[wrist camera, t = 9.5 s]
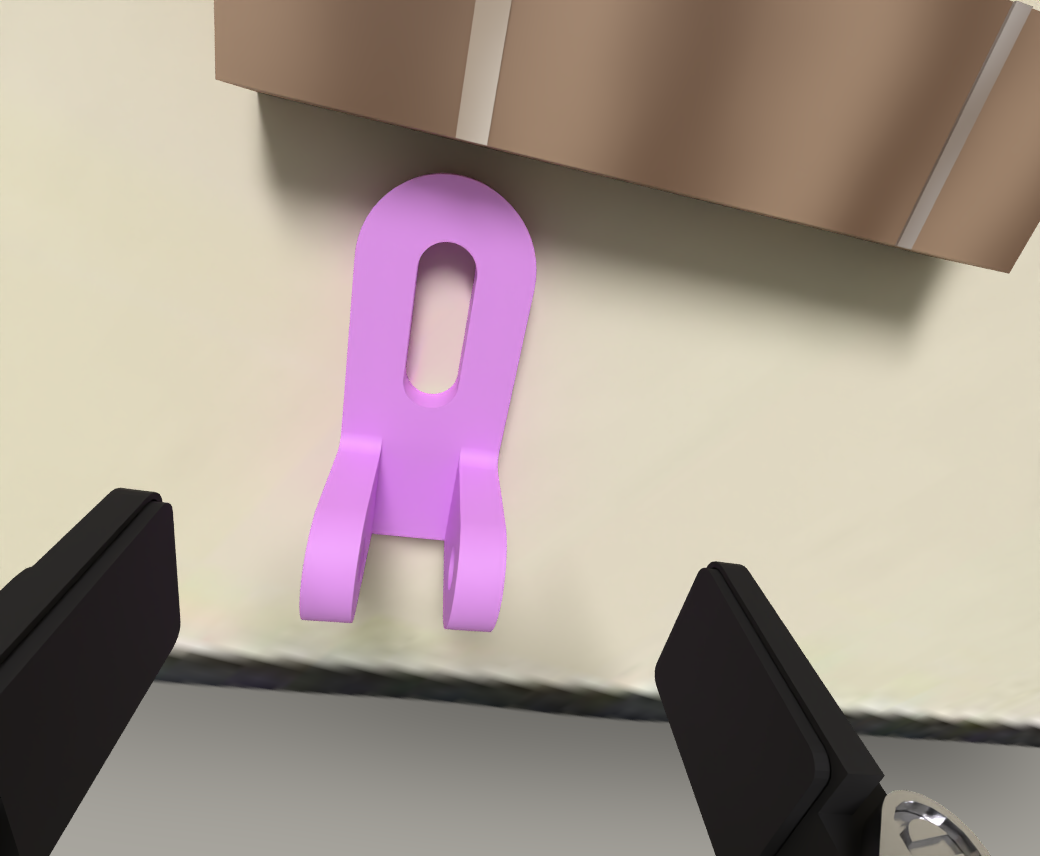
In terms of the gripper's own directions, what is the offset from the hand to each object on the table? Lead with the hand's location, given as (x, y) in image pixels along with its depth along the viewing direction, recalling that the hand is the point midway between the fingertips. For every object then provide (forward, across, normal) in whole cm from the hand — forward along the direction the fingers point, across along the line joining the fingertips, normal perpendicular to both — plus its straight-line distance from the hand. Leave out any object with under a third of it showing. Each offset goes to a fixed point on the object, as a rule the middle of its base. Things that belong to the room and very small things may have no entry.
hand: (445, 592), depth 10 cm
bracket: (+12, +1, 0) cm, 12 cm away
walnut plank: (+11, -5, -10) cm, 16 cm away
